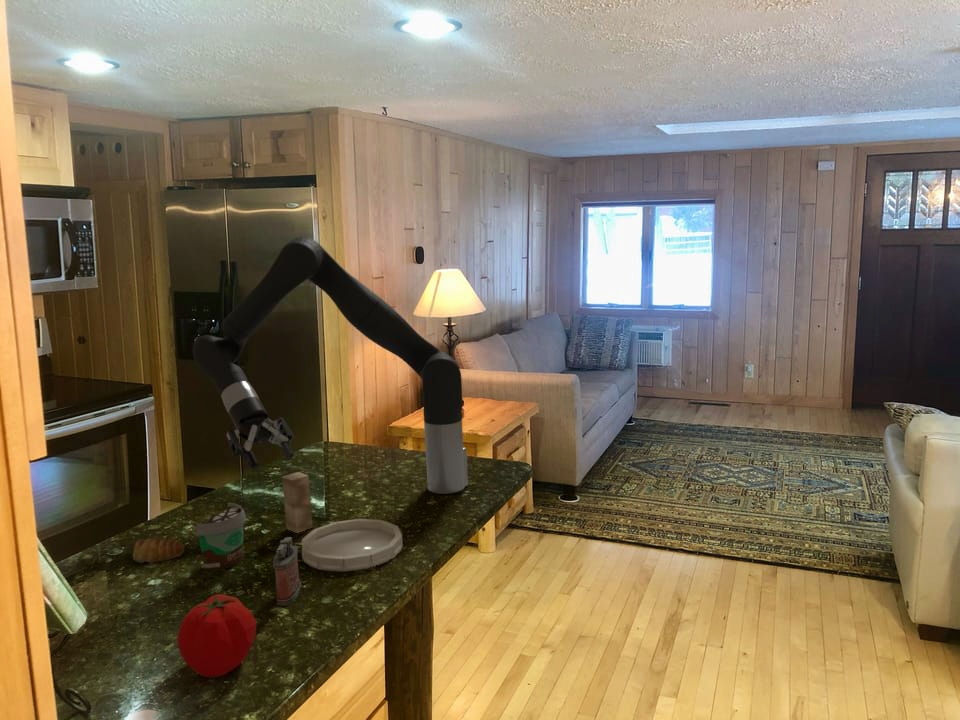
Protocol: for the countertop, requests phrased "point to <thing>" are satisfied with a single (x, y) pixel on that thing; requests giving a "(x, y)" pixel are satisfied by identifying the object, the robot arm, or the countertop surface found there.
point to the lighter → (286, 572)
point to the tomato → (216, 635)
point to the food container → (222, 538)
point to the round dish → (351, 545)
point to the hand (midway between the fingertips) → (274, 462)
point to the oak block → (297, 502)
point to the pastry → (157, 550)
